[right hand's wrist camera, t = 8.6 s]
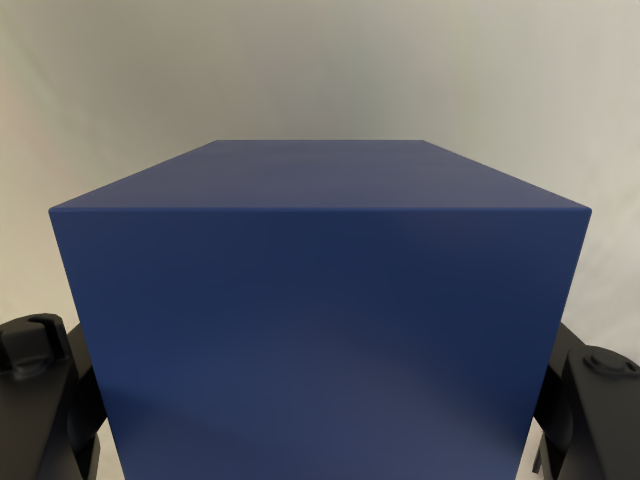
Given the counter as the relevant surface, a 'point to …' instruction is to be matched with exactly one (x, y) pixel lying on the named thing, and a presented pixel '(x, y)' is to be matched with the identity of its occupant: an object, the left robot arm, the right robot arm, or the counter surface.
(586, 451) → the right robot arm
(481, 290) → the block
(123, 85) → the counter surface
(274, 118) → the counter surface
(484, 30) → the counter surface
